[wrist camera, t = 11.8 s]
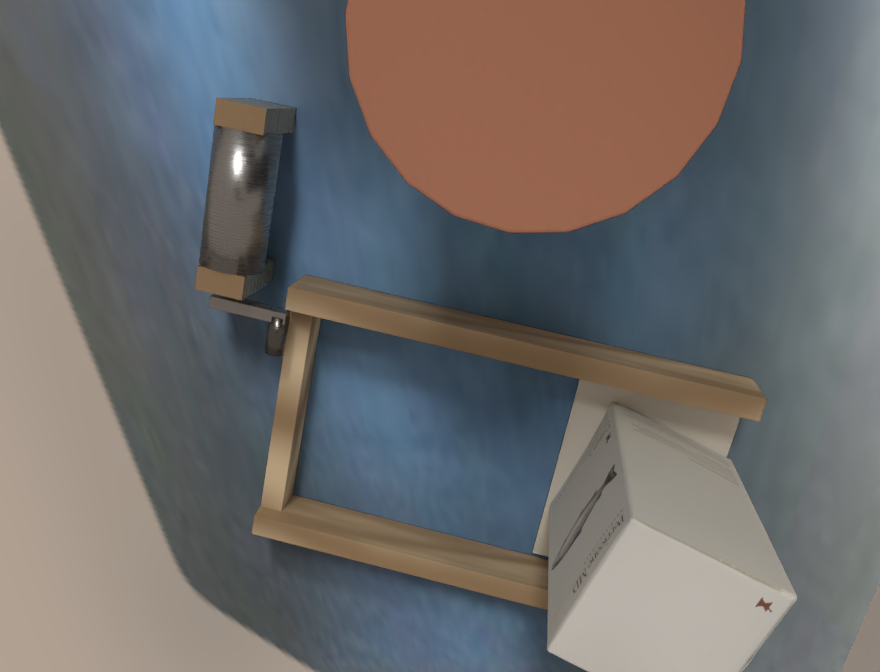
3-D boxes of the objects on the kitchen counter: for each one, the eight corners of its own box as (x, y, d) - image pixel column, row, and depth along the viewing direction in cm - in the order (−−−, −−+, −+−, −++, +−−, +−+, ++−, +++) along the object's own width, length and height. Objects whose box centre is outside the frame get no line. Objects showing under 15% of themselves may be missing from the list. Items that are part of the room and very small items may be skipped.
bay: (305, 274, 43) (288, 286, 40) (752, 378, 41) (767, 399, 38) (270, 507, 47) (251, 533, 44) (672, 610, 45) (680, 644, 43)
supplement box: (611, 395, 42) (634, 511, 30) (735, 459, 42) (808, 601, 30) (544, 504, 44) (540, 652, 32) (662, 565, 44) (702, 735, 32)
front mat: (582, 367, 42) (582, 368, 42) (743, 405, 42) (744, 406, 41) (532, 551, 46) (532, 552, 45) (680, 588, 45) (680, 590, 45)
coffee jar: (544, 223, 40) (538, 311, 23) (390, 72, 39) (265, 49, 22) (708, 59, 37) (839, 21, 20) (545, -110, 36) (538, -300, 19)
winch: (243, 96, 41) (206, 95, 36) (336, 116, 40) (309, 118, 36) (216, 318, 44) (179, 341, 40) (301, 338, 44) (273, 364, 40)
